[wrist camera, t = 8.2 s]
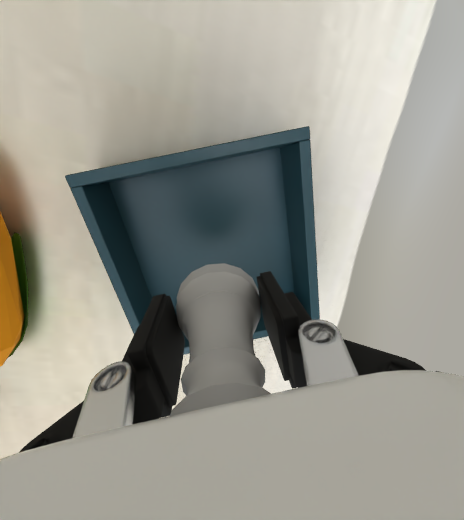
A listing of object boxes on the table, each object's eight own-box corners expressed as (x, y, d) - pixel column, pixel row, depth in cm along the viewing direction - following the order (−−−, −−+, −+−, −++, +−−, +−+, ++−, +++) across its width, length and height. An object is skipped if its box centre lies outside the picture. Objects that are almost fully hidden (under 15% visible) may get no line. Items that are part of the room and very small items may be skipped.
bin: (98, 174, 20) (64, 175, 15) (286, 136, 20) (309, 125, 15) (157, 328, 26) (146, 363, 21) (300, 297, 26) (320, 325, 21)
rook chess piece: (175, 327, 13) (130, 525, 6) (180, 255, 12) (130, 399, 4) (250, 332, 14) (296, 517, 6) (264, 264, 12) (348, 404, 5)
